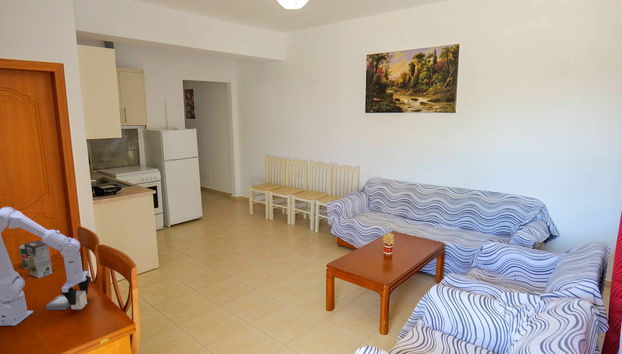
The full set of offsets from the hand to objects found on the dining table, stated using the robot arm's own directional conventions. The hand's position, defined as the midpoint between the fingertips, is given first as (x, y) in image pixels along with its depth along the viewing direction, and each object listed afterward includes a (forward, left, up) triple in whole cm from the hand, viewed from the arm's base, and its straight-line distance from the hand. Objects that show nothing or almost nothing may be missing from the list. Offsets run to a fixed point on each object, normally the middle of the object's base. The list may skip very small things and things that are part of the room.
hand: (78, 299), depth 153 cm
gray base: (+1, +8, -3) cm, 9 cm away
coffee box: (+30, +38, -3) cm, 49 cm away
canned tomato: (+40, +50, -3) cm, 64 cm away
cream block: (0, 0, -3) cm, 3 cm away
